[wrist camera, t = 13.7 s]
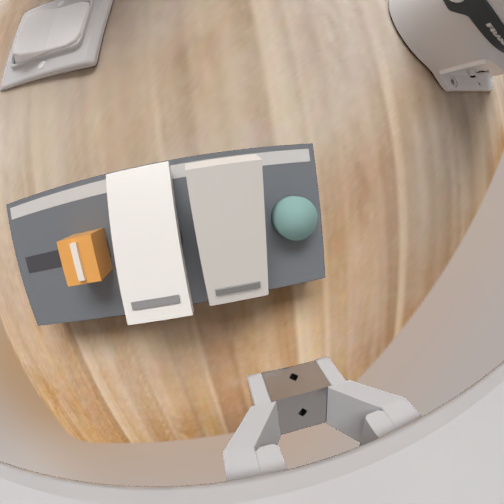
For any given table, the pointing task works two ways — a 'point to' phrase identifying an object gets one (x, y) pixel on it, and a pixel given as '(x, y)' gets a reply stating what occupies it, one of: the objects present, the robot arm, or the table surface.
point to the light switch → (56, 40)
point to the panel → (97, 216)
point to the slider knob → (85, 257)
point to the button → (294, 217)
